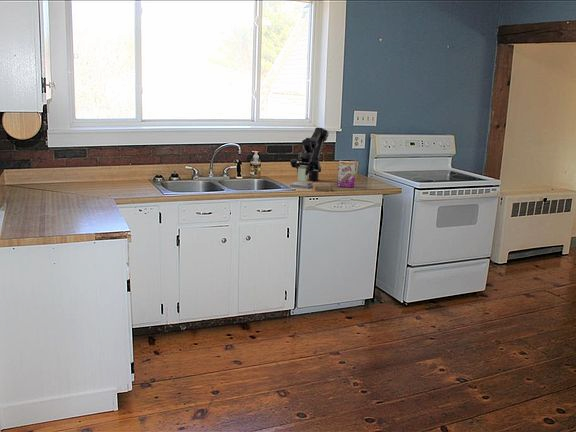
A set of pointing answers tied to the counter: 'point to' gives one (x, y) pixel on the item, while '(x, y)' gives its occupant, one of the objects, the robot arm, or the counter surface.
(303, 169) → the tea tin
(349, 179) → the candy bar box
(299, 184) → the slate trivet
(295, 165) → the robot arm
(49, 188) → the counter surface
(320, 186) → the tan flat block
